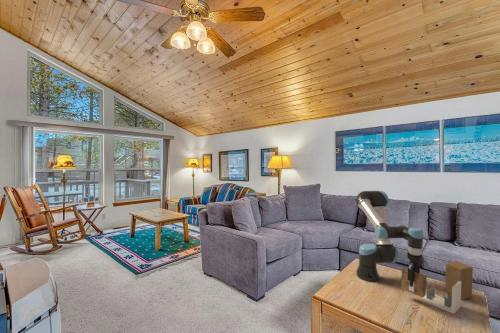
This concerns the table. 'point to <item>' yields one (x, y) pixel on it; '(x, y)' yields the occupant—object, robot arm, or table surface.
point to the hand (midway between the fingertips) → (413, 289)
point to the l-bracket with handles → (445, 299)
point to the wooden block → (459, 278)
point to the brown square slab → (419, 283)
